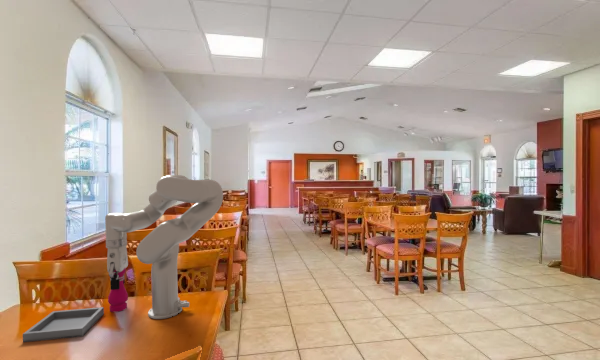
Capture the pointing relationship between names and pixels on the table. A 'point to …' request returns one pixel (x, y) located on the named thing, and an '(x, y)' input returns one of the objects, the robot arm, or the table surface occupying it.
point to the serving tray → (64, 324)
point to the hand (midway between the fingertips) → (117, 286)
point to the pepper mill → (118, 295)
